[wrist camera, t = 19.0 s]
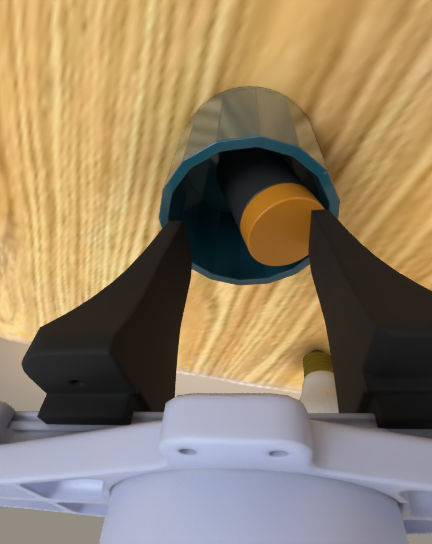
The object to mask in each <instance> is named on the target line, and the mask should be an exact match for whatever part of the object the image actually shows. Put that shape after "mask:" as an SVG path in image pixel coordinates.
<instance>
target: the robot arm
mask: <svg viewBox="0 0 432 544" xmlns="http://www.w3.org/2000/svg"><path fill="white" fill-rule="evenodd" d="M308 252H309V260H310V267H311V273H312V276H313V280H314V284H315V287H316V291H317V294H318V298H319V301H320V305H321V308H322V312H323V315H324V319H325V324H326V328H327V334H328V340H329V346H330V353H331V359H332V366H333V373H334V380H335V387H336V395H337V403H338V411H339V413H307V410H306V408H305V406H304V404H303V403H302V402H301V401H299V400H297V399H295V398H292V397H290V396H288V395H279V394H271V393H263V394H261V393H259V394H258V393H251V394H250V393H246V394H245V393H236V394H235V393H234V394H233V393H232V394H231V393H230V394H228V393H225V394H223V393H222V394H221V393H220V394H218V393H216V394H215V393H213V394H212V393H210V394H206V393H205V394H204V393H203V394H201V393H200V394H199V393H197V394H186V395H178V396H176V397H175V381H176V368H177V355H178V345H179V335H180V327H181V321H182V317H183V312H184V308H185V303H186V298H187V294H188V289H189V284H190V279H191V269H192V255H191V251H190V247H189V243H188V239H187V235H186V231H185V227H184V223H183V220H179V221H168V223H167V224H166V225H165V226H164V227H163V229H162V230H161V231H160V232H159V234H158V235H157V236H156V237H155V239H154V240H153V241H152V242H151V243H150V245H149V246H148V247H147V248H146V249H145V251H144V252H143V253H142V254H141V255H140V256H139V257H138V258H137V259H136V260H135V261H134V262H133V264H132V265H131V266H130V267H129V268H128V269H127V270H126V271H124V272H123V273H122V274H121V275H120V276H119V277H118V278H117V279H115V280H114V281H113V282H112V283H111V284H110V285H108V286H107V287H106V288H104V289H103V290H102V291H100V292H99V293H98V294H96V295H95V296H94V297H92V298H91V299H89V300H88V301H86V302H85V303H83V304H82V305H80V306H78V307H77V308H75V309H73V310H72V311H70V312H68V313H67V314H65V315H63V316H61V317H59V318H57V319H55V320H54V321H52V322H50V323H48V324H46V325H44V326H42V327H40V329H39V330H38V332H37V334H36V336H35V338H34V340H33V341H32V343H31V345H30V347H29V349H28V351H27V352H26V354H25V356H24V358H23V360H22V367H23V370H24V372H25V373H26V374H27V375H28V377H29V378H31V379H32V380H33V381H34V382H35V383H36V384H37V385H38V386H39V387H40V388H41V389H42V390H44V391H45V392H46V393H47V395H46V398H45V400H44V402H43V404H42V406H41V409H40V411H15V409H14V408H13V407H12V406H10V405H9V404H7V403H5V402H2V401H0V506H6V507H17V508H28V509H37V510H47V511H56V512H65V513H74V514H82V515H91V516H100V517H105V521H104V525H103V529H102V533H101V537H100V541H99V544H409V541H408V538H407V534H419V535H420V534H421V535H422V534H423V535H428V534H432V291H431V290H429V289H427V288H425V287H423V286H421V285H419V284H417V283H416V282H414V281H412V280H410V279H409V278H407V277H405V276H404V275H402V274H400V273H399V272H397V271H396V270H394V269H393V268H391V267H390V266H388V265H387V264H386V263H384V262H383V261H381V260H380V259H379V258H377V257H376V256H375V255H374V254H372V253H371V252H370V251H369V250H368V249H366V248H365V247H364V246H363V245H362V244H361V243H360V242H359V241H358V240H357V239H356V238H355V237H354V236H353V235H352V234H351V233H350V232H349V231H348V230H347V229H346V228H345V227H344V226H343V225H342V224H341V223H340V222H339V221H338V220H337V218H336V217H335V216H334V215H333V214H332V213H331V212H330V211H329V210H328V209H323V210H311V223H310V235H309V248H308Z"/></svg>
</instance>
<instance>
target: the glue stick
mask: <svg viewBox="0 0 432 544" xmlns="http://www.w3.org/2000/svg"><path fill="white" fill-rule="evenodd" d="M216 177H217V181H218V184H219V186H220V188H221V191H222V193H223V195H224V197H225V199H226V202H227V204H228V206H229V208H230V210H231V213H232V215H233V217H234V219H235V221H236V224H237V226H238V228H239V230H240V233H241V235H242V237H243V239H244V241H245V244H246V246H247V248H248V250H249V252H250V254H251V255H252V257H253V258H254V259H255V260H257V261H258V262H260V263H262V264H265V265H269V266H283V265H288V264H291V263H294V262H296V261H299V260H300V259H302V258H304V257H306V256H307V255H308V254H309V252H308V248H309V235H310V223H311V210H323V209H324V207H323V206H322V204H321V203H320V202H319V201H318V200H317V199H316V197H315V196H314V195H313V194H312V193H311V191H310V190H309V189H308V188H307V187H306V186H305V184H304V183H303V182H302V181H301V180H300V178H299V177H298V176H297V175H296V174H295V173H294V171H293V170H292V169H291V168H290V167H289V165H288V164H287V163H286V162H285V161H284V160H283V158H282V157H281V156H280V155H279V154H278V152H275V151H271V150H267V149H264V148H260V147H252V148H244V149H236V150H228V151H224V152H223V154H222V155H221V157H220V159H219V161H218V164H217V169H216Z"/></svg>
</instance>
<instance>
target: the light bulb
mask: <svg viewBox="0 0 432 544" xmlns="http://www.w3.org/2000/svg"><path fill="white" fill-rule="evenodd" d="M303 368H304V381H303V385H302V394H301V397H300V400H299V401H301V402H302V403H303V404H304V406H305V408H306V410H307V413H339V411H338V403H337V395H336V387H335V380H334V373H333V366H332V359H331V356H330V355H329V354H327V353H324V352H322V351H319V350H314V351H312V352H311V353H309V354H308V355H306V356H305V357H304V358H303Z"/></svg>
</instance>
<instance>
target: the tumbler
mask: <svg viewBox="0 0 432 544" xmlns="http://www.w3.org/2000/svg"><path fill="white" fill-rule="evenodd" d="M252 147H260V148H264V149H267V150H271V151H275V152H278V154H279V155H280V156H281V157H282V158H283V160H284V161H285V162H286V163H287V164H288V165H289V167H290V168H291V169H292V170H293V171H294V173H295V174H296V175H297V176H298V177H299V178H300V180H301V181H302V182H303V183H304V184H305V186H306V187H307V188H308V189H309V190H310V191H311V193H312V194H313V195H314V196H315V197H316V199H317V200H318V201H319V202H320V203H321V204H322V206H323V207H324V209H328V210H329V211H330V212H331V213H332V214H333V215H334V216H335V217H336V218H337V220H338V212H339V204H340V201H339V197H338V194H337V192H336V189H335V187H334V184H333V181H332V179H331V176H330V173H329V171H328V168H327V166H326V163H325V160H324V158H323V155H322V152H321V150H320V147H319V144H318V142H317V139H316V137H315V134H314V132H313V129H312V127H311V124H310V122H309V119H308V117H307V116H306V115H305V114H304V112H303V111H302V110H301V109H300V108H299V107H298V106H297V105H296V103H294V102H293V101H292V100H290V99H289V98H288V97H286V96H284V95H282V94H281V93H279V92H276V91H273V90H271V89H267V88H262V87H251V86H249V87H238V88H234V89H230V90H227V91H224V92H222V93H219V94H218V95H216V96H214V97H212V98H211V99H209V100H208V101H207V102H205V103H204V104H203V105H202V106H201V107H200V108H199V109H198V110H197V111H196V112H195V113H194V115H193V116H192V117H191V119H190V120H189V122H188V124H187V126H186V128H185V130H184V131H183V133H182V135H181V138H180V141H179V144H178V147H177V150H176V153H175V155H174V158H173V161H172V164H171V167H170V170H169V173H168V176H167V179H166V182H165V185H164V188H163V192H162V199H161V206H160V213H159V220H160V223H161V226H162V229H163V227H164V226H165V225H166V224H167V223H168V221H179V220H183V223H184V227H185V231H186V235H187V239H188V243H189V247H190V251H191V255H192V269H193V270H195V271H197V272H198V273H200V274H202V275H204V276H206V277H208V278H209V279H212V280H216V281H221V282H226V283H230V284H235V285H253V284H268V283H271V282H274V281H277V280H280V279H283V278H286V277H289V276H292V275H294V274H296V273H298V272H300V271H301V270H302V269H304V268H305V267H306V266H308V265H309V264H310V260H309V254H308V255H307V256H306V257H304V258H302V259H300V260H299V261H296V262H294V263H291V264H288V265H283V266H269V265H265V264H262V263H260V262H258V261H257V260H255V259H254V258H253V257H252V255H251V254H250V252H249V250H248V248H247V246H246V244H245V241H244V239H243V237H242V235H241V233H240V230H239V228H238V226H237V224H236V221H235V219H234V217H233V215H232V213H231V210H230V208H229V206H228V204H227V202H226V199H225V197H224V195H223V193H222V191H221V188H220V186H219V184H218V181H217V177H216V169H217V164H218V161H219V159H220V157H221V155H222V154H223V152H224V151H228V150H236V149H244V148H252Z"/></svg>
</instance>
